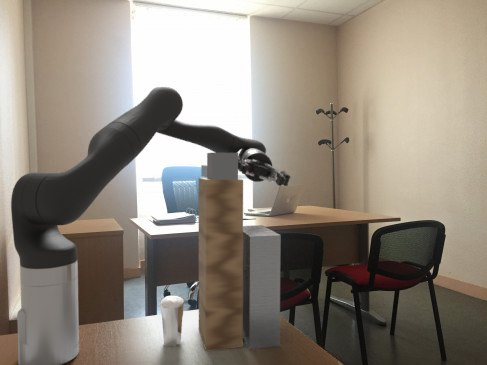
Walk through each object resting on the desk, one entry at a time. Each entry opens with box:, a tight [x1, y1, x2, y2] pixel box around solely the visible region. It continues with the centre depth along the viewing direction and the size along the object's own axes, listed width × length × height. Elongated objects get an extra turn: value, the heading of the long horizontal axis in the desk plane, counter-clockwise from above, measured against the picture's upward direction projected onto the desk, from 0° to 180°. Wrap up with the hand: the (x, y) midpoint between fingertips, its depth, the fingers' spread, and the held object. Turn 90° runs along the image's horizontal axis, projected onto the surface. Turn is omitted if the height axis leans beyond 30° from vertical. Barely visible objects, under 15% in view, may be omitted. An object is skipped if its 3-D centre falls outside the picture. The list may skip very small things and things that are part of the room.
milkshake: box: [160, 293, 188, 348], centre depth 77 cm, size 4×5×10 cm
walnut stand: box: [198, 177, 244, 351], centre depth 79 cm, size 7×10×32 cm
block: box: [200, 152, 239, 180], centre depth 82 cm, size 5×19×5 cm, turn 14°
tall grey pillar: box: [242, 224, 282, 350], centre depth 81 cm, size 6×12×22 cm, turn 14°
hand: (263, 175), depth 89 cm, fingers open, 8 cm apart
